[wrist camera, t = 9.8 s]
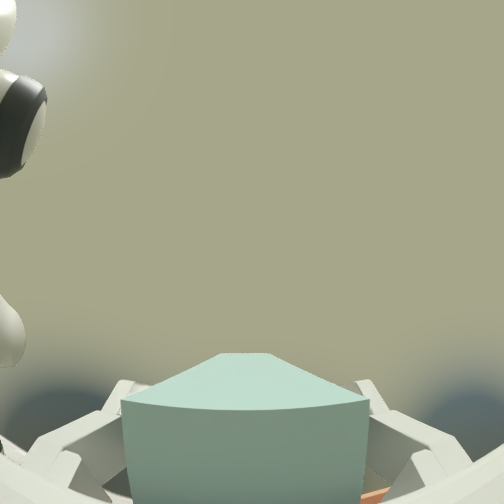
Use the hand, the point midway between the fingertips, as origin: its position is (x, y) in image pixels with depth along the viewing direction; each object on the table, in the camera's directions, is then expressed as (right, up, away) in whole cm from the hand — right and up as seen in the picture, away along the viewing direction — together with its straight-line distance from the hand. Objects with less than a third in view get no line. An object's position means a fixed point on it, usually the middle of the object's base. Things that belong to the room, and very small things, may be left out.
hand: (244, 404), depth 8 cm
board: (0, -4, +7) cm, 8 cm away
